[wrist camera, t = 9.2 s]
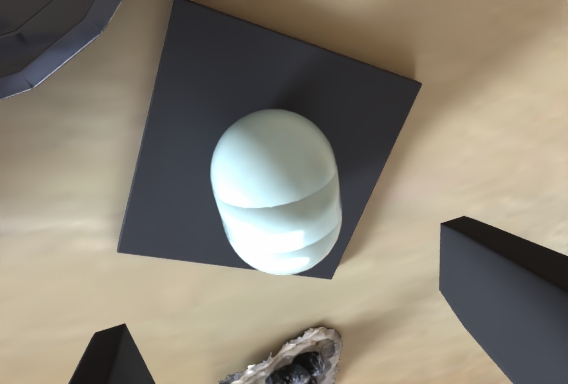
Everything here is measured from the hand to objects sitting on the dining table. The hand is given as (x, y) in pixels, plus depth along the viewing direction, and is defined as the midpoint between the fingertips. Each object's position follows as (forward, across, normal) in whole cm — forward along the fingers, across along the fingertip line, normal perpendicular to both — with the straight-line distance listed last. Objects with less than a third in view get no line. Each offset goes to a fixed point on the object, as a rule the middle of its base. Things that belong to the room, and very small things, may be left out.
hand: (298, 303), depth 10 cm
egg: (+6, -1, +1) cm, 6 cm away
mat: (+9, -1, +1) cm, 9 cm away
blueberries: (+9, 0, +14) cm, 17 cm away
